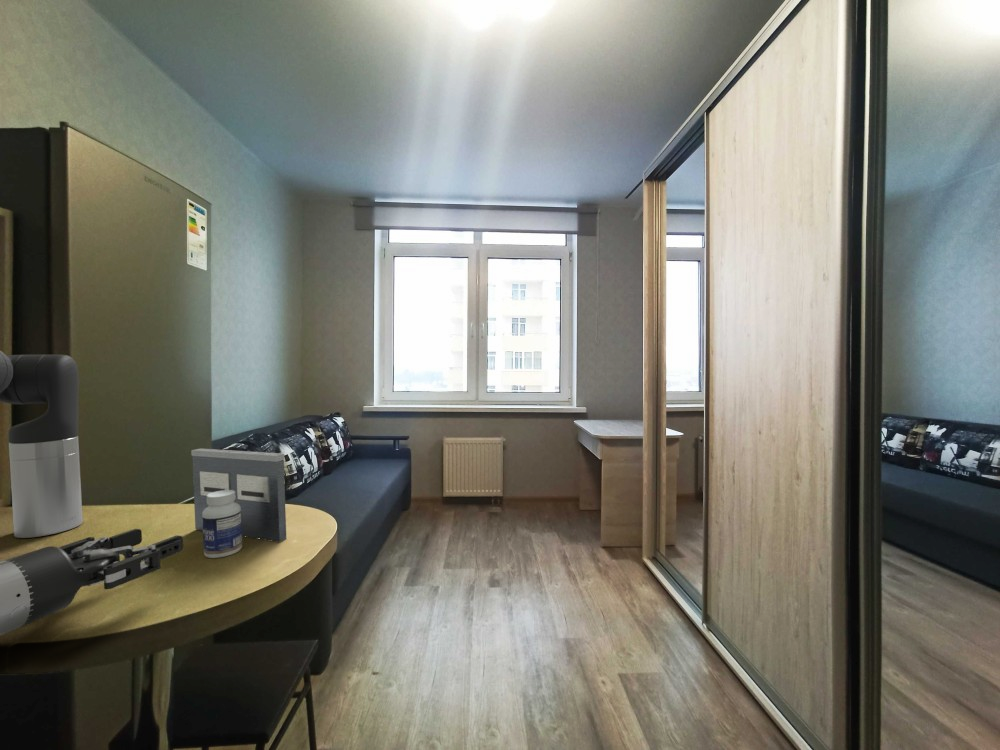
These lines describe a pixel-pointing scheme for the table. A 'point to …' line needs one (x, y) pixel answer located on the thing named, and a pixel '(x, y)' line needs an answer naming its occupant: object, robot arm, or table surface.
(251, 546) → the table surface
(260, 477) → the label panel
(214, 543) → the pill bottle
